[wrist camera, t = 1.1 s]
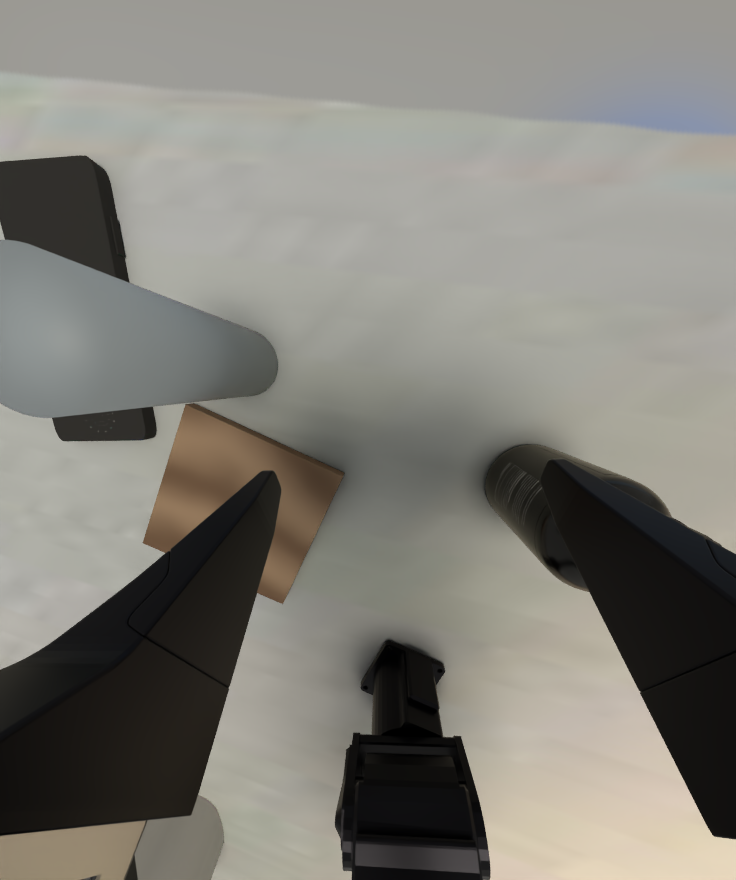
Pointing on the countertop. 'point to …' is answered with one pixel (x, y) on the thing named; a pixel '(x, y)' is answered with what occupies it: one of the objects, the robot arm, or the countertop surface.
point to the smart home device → (72, 254)
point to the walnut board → (224, 473)
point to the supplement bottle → (528, 510)
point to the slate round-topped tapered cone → (112, 342)
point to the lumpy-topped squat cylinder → (181, 845)
